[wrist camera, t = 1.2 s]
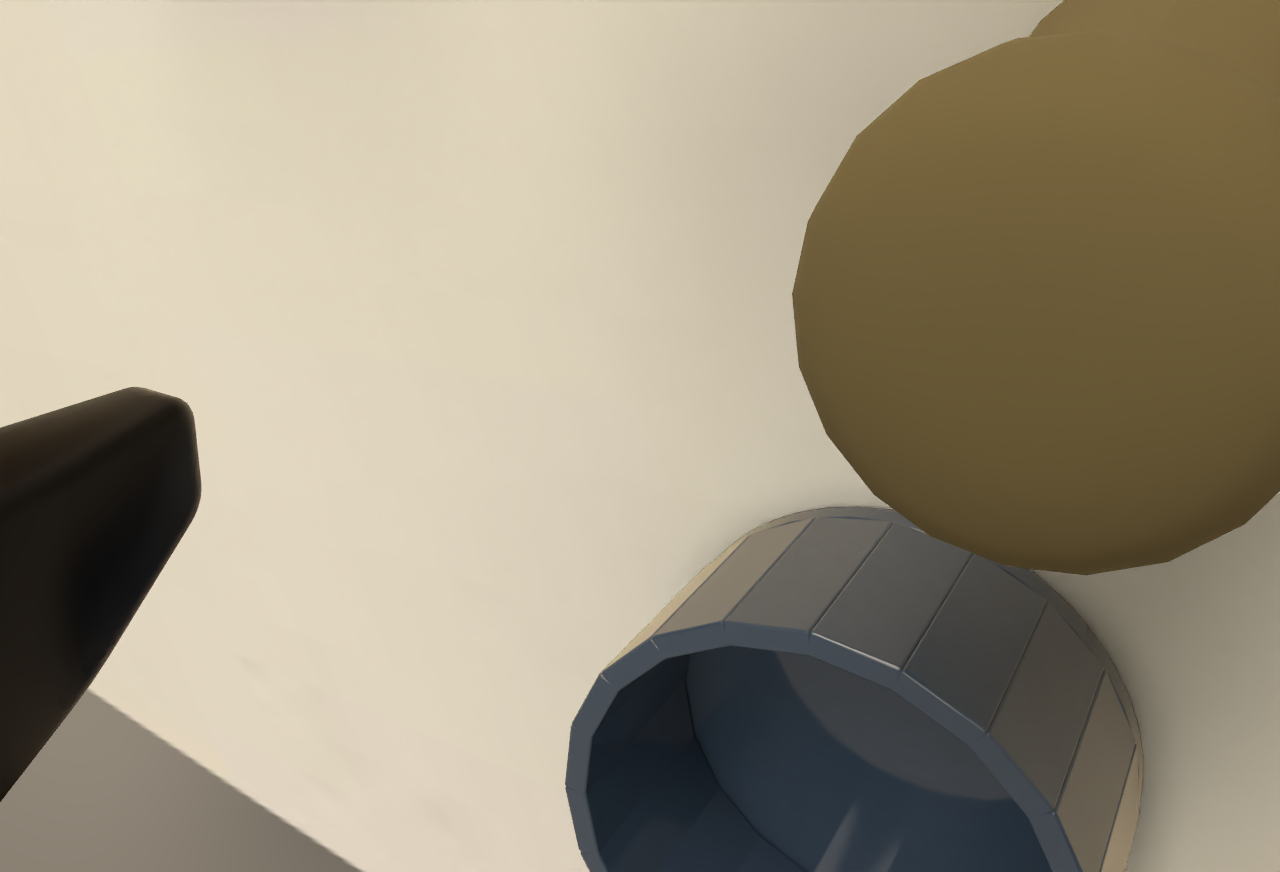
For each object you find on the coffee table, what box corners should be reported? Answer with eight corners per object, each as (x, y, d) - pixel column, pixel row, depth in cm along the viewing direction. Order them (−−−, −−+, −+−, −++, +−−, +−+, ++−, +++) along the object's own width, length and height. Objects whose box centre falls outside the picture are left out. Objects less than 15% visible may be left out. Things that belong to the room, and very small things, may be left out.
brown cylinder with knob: (1264, 392, 20) (1173, 790, 11) (934, 235, 22) (632, 472, 13) (1505, 32, 17) (1642, 196, 8) (1093, -118, 18) (834, -119, 10)
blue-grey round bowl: (1260, 725, 22) (1234, 911, 18) (968, 993, 28) (899, 1178, 24) (800, 410, 24) (687, 513, 20) (619, 718, 30) (503, 844, 26)
